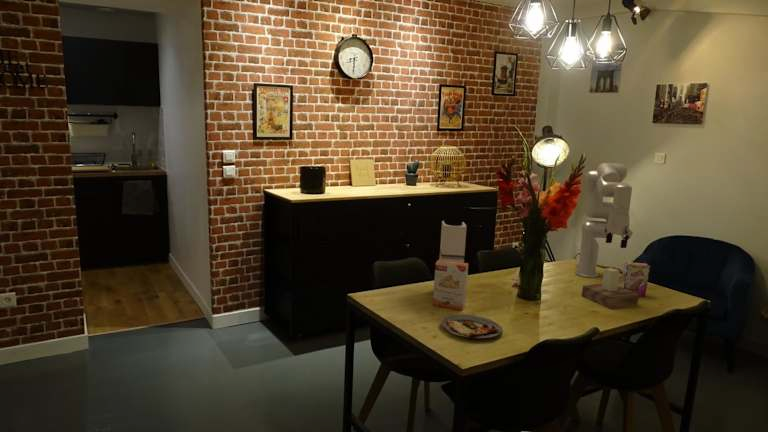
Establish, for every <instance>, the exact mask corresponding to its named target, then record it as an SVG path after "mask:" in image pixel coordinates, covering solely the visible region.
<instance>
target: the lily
mask: <svg viewBox="0 0 768 432" xmlns="http://www.w3.org/2000/svg"><path fill="white" fill-rule="evenodd" d="M516 282H520V281H519V273H518V274H517V275H516V279H515V280H514V282H512V283H511V287H512V286H513V285H514V283H516Z"/></svg>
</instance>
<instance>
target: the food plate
mask: <svg viewBox="0 0 768 432" xmlns="http://www.w3.org/2000/svg"><path fill="white" fill-rule="evenodd" d="M440 325H441V327H443V328H444V329H445V330H447V331H448V332H449V333H451V334H453V335H455V336H457V337H461V338H467V339H474V340H480V339H493V338H497V337H499V336H500V335H502V334H503V332H504V331H503V330H504V329H503V327H502V326H501V325H499V324H498V323H496V322H495V321H493V320H492V319H490V318H487V317H483V316H479V315H473V314H454V315H449V316H445V317H443V318H442V319H441V320H440Z"/></svg>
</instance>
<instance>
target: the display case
mask: <svg viewBox="0 0 768 432" xmlns="http://www.w3.org/2000/svg"><path fill="white" fill-rule="evenodd" d="M466 239H467V224H466V223H465V222H464V221H462V222H461V225H450V224H446V222H445V220H442V221H441V231H440V245H439V246H440V247H439V259H441V260H448V261H454V262H461V263H465V256H466V255H465V254H466V253H465V252H466V251H465V250H466ZM439 259H438V260H439Z"/></svg>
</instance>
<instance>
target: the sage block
mask: <svg viewBox="0 0 768 432" xmlns="http://www.w3.org/2000/svg"><path fill="white" fill-rule="evenodd" d="M619 280H620V270H619V269H615V268H613V267H610V268H609V267H608V268H603V276H602V283H601V284H602V289H605V290H607V291H617V289H618V286H619Z"/></svg>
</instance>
